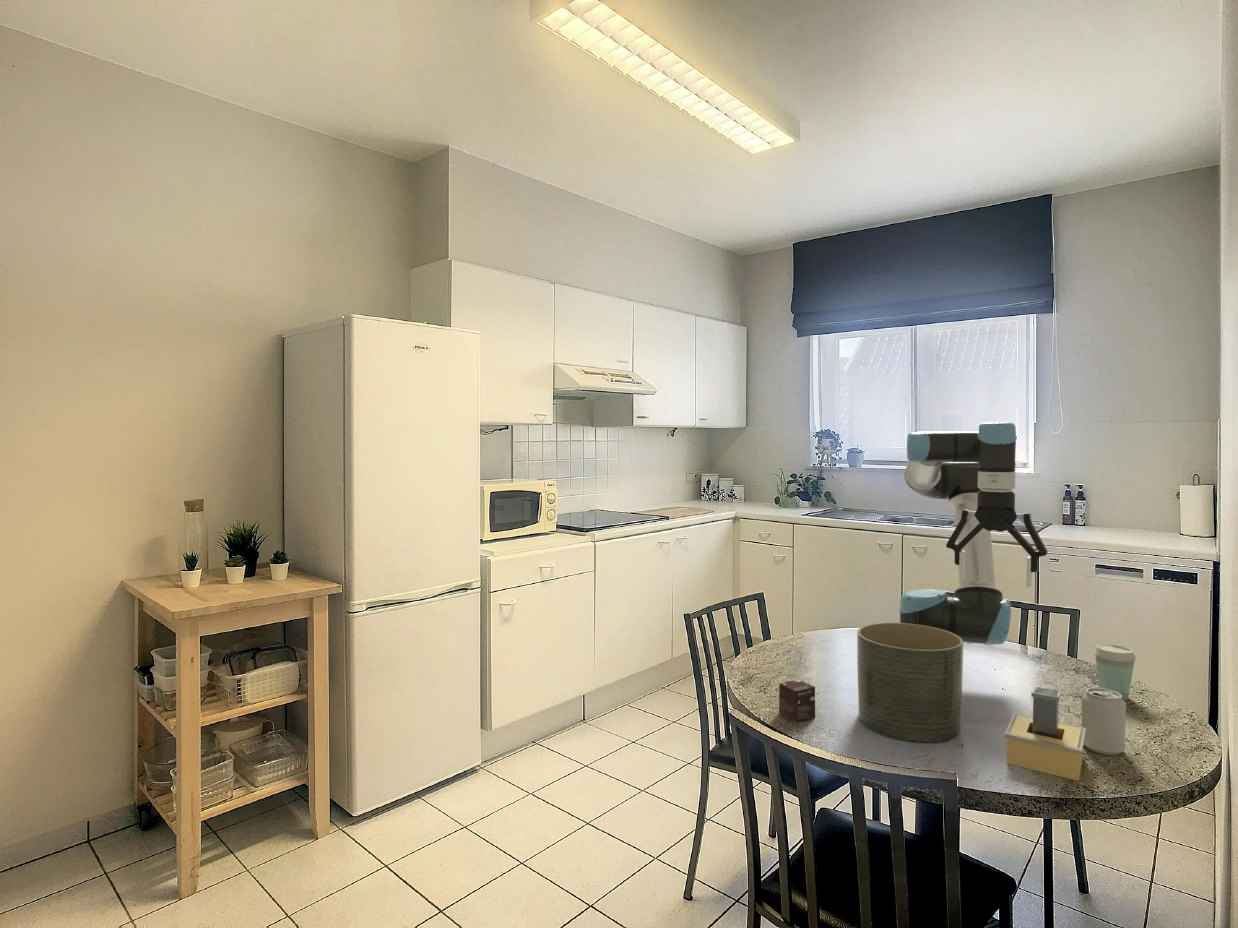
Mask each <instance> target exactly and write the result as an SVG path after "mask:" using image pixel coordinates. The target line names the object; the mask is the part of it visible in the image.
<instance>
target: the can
mask: <svg viewBox="0 0 1238 928" xmlns="http://www.w3.org/2000/svg"><path fill="white" fill-rule="evenodd" d="M1121 698H1122V695H1121V694H1119V693H1118V692H1115V691H1112V690H1109V689H1104V688H1099V687H1088V688H1086V689H1085V693H1084V694H1082V696H1081V722H1080V723H1081V724H1080V725H1081V726H1080V727H1084V728H1086V734H1085V739H1084V745H1083V746H1085V748H1087V749H1088V750H1090V751H1091V752H1094V753H1097V754H1099V755H1100V754H1101V755H1106V756H1118V755H1120V753H1123V752H1124V751H1126V750H1125V749H1126V719H1127V718H1126V717H1127V716H1126V715H1127V714H1126V713H1127V703H1126V702H1125V700H1122V699H1121Z"/></svg>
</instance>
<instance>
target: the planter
mask: <svg viewBox="0 0 1238 928" xmlns="http://www.w3.org/2000/svg"><path fill="white" fill-rule="evenodd" d="M856 634H857V635H856V637H857V638H856V641H857V644H856V649H857V650H856V651H857V652H856V653H857V654H856V655H857V656H856V657H857V662H856V665H857V691H858V692H857V694H858V696H857V697H858V698H857V699H858V717H859V721H860V722H861V723H862V724H863V725H864V726H865V727H866V728H867V729H869V730H871V731H873V732H875V733H876V734H880V735H882V736H885V737H888V738H892V739H894V740H895V739H896V740H899V741H900V740H901V741H904V742H913V743H923V744H924V743H927V744H928V743H929V744H931V743H932V744H933V743H942V742H947V741H950V740H952V739H955V738H956V737H958V736H959V734H960V731H961V713H962V698H963V697H962V695H963V693H962V692H963V674H964V672H963V669H964V668H963V667H964V664H963V663H964V642H963V640H962V639H961V638H960V637H959V636H958V635H956V634H954V633H951V632H949V631H946V630H942V629H939V628H935V627H930V626H924V625H918V624H908V623H900V622H879V623H878V622H877V623H870V624H869V623H868V624H866V625H863V626H861V627H859V628H858V629H857V632H856Z"/></svg>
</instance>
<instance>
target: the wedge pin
mask: <svg viewBox="0 0 1238 928" xmlns="http://www.w3.org/2000/svg"><path fill="white" fill-rule="evenodd" d="M1061 692H1062V691H1061V690H1059V689H1054V688H1048V687H1043V686H1037V685H1034V686H1033V689H1032V690H1031V693H1030V694H1031V696H1030V697H1031V698H1032V703H1033V704H1032V717H1033V734H1037V735H1041V736H1046V737H1050V738H1055V739H1058V722H1059V709H1060V706H1059V703H1060V702H1059V701H1060V697H1061V695H1062V693H1061Z"/></svg>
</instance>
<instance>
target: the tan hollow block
mask: <svg viewBox="0 0 1238 928" xmlns="http://www.w3.org/2000/svg"><path fill="white" fill-rule="evenodd" d="M1085 734H1086V728H1084V727H1081V726H1078V725H1074V724H1068V723H1064V722H1059V721H1058V739H1055V738H1050V737H1046V736H1041V735H1037V734H1033V716H1029V715H1025V714H1021V713H1015V712H1014V713H1013V714H1012V717H1011V718H1010V721H1009V723H1008V726H1007V728H1006V730H1005V732H1004V738H1006V765H1007V764H1009V765H1011V766H1016V767H1020V768H1024V769H1029V770H1032V771H1036V772H1040V773H1045V774H1048V775H1053V776H1056V777H1057V776H1058V777H1061V778H1065V779H1070V780H1074V781H1078V782H1080V777H1081V770H1082V766H1083V760H1084V746H1085V745H1084V739H1085Z"/></svg>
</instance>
